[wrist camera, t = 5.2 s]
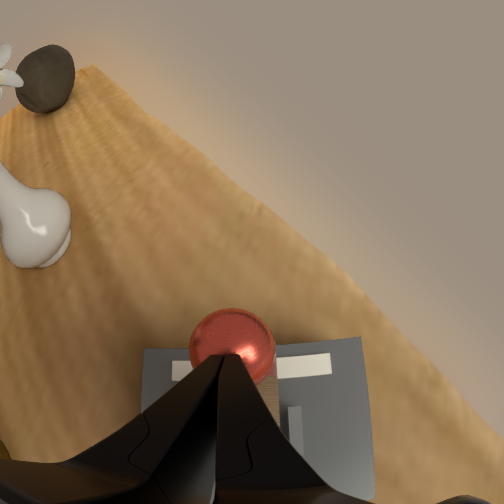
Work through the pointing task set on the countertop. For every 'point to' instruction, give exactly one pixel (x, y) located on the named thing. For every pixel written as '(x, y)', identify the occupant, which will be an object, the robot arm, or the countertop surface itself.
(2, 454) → the salt shaker
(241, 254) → the countertop surface
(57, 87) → the dark brown ball
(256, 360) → the switch lever
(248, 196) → the countertop surface
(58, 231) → the flower vase
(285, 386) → the switch box
